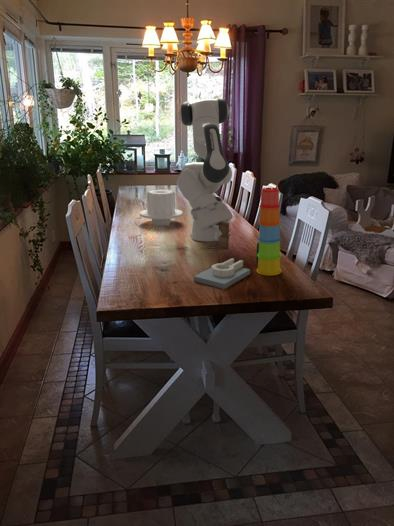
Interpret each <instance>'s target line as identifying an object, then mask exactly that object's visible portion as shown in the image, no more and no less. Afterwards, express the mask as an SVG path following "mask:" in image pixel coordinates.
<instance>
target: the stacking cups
mask: <svg viewBox="0 0 394 526" xmlns="http://www.w3.org/2000/svg"><path fill="white" fill-rule="evenodd" d="M259 208H260V209H259V215H260V218H259V222H258V225H259V235H258V238H257V241H258V242H259V253H258V254H257V256H258V264H257V268H256V272H257V274H259V275H261V276H266V277H267V276H268V277H269V276H272V277H273V276H278V275H280V274H281V273H282V269H281V267H280V266H281V257H282V254H281V243H280V242H281V240H282V239H281V237H280V234H281V233H280V231H281V229H280V225H281V223H282V222H281V221H280V208H281V205H280V190H279V188H278V187H263V188H262V189H261V191H260V205H259Z"/></svg>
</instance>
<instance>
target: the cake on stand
mask: <svg viewBox="0 0 394 526" xmlns="http://www.w3.org/2000/svg"><path fill="white" fill-rule="evenodd" d="M139 216H140V217H141V218H144V219H149V220H150V219H151V226H154V225H157V226H159V227H160V226H162V227H164V226H165V227H168V226H170V224H171V221H172V220H171V219H176V218H177V219H178V218H180V217H182V216H183V211H182V210H181V209H178V208H176V193H175V191H173V190H170V189H154V190H152V189H151V190H149V191H147V192H146V209H143V210H141V211H140V212H139ZM157 226H156V227H157Z"/></svg>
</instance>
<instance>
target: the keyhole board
mask: <svg viewBox="0 0 394 526" xmlns="http://www.w3.org/2000/svg"><path fill="white" fill-rule="evenodd" d="M210 266H211V267H210V268H208V269H206V270H203V271H202V272H199V273H197V274H196V275H193V281H194V282H197V283H200V284H204V285H208V286H211V287H215V288H219V289H222V290H225V289H227V288H229V287H230V286H232V285H234V284H235V283H238V282H239V281H240V280H242V279H245V277H247V276H249V275H251V269H249V268H246V267H244V260H243V259H240V260H238V261H236V262H235V258H233V257H232V258H229V259H227V260H225V261H224V262H220V263H214V264H212V265H210Z"/></svg>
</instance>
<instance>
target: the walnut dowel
mask: <svg viewBox="0 0 394 526" xmlns="http://www.w3.org/2000/svg"><path fill="white" fill-rule="evenodd" d="M229 228H230V222H220V223H219V230H222V232H223V235H221V236H218V241H217V242H218V243H217V249H219V250H227V249H229V241H230V240H229V239H230V238H229V236H230V235H229V233H230V232H229Z"/></svg>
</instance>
